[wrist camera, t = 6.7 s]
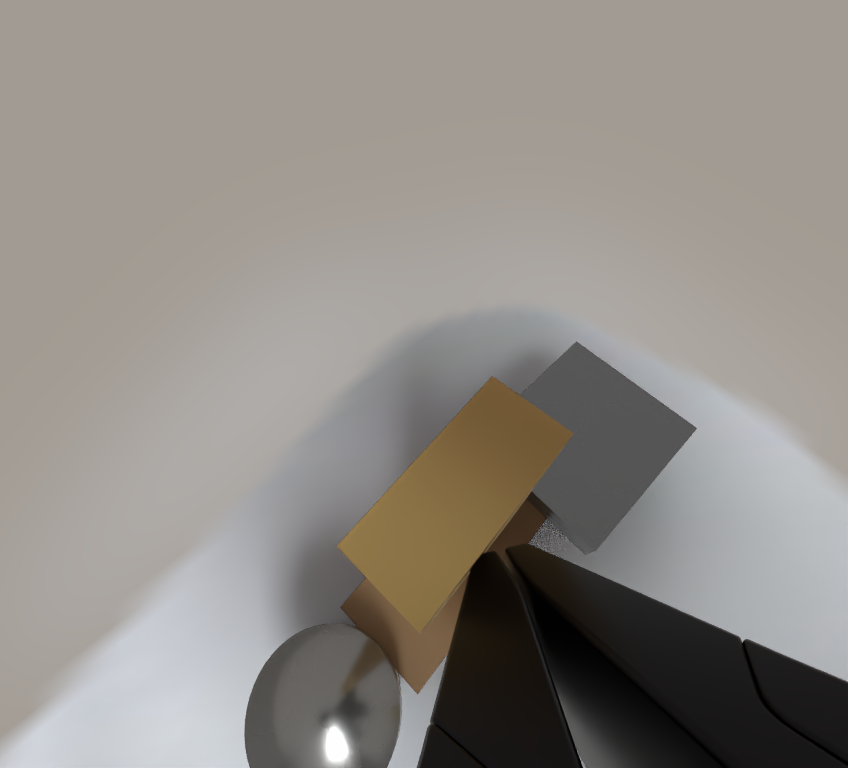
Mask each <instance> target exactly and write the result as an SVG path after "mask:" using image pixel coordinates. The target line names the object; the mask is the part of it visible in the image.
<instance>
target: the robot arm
mask: <svg viewBox="0 0 848 768" xmlns="http://www.w3.org/2000/svg"><path fill="white" fill-rule="evenodd" d="M504 560H505V563H504V561H503V560H502V558H501V557H500V555H499V554H498V553H497V552H496V551H490V552H486V553H483V554H482V555H481V556H480V557H479V559H478V560H477V561H476V562H475V564H474V565H473V566H472V567H471V569H470V572H469V576H468V580H467V584H466V587H465V591H464V595H463V599H462V602H461V606H460V610H459V614H458V618H457V621H456V625H455V629H454V633H453V637H452V640H451V644H450V648H449V652H448V656H447V659H446V663H445V667H444V671H443V675H442V678H441V682H440V686H439V690H438V694H437V697H436V701H435V705H434V709H433V713H432V716H431V721H430V722H431V725H429V726H428V729H427V732H426V736H425V740H424V744H423V747H422V751H421V755H420V759H419V762H418V765H417V768H583V767H582V764H581V761H580V758H579V755H580V757H581V759H582V761H583V763H584V765H585V766H586V768H848V682H847V681H845V680H842V679H840V678H838V677H835V676H833V675H830V674H828V673H826V672H823V671H821V670H818V669H816V668H814V667H811V666H809V665H806V664H804V663H802V662H799V661H797V660H795V659H792V658H790V657H787V656H785V655H783V654H780V653H778V652H776V651H774V650H771V649H769V648H767V647H764V646H762V645H760V644H758V643H755V642H753V641H751V640H748V639H746V640H744V641H743V643H742V640H741V639H740V637H739V636H737V635H734V634H732V633H730V632H728V631H725V630H723V629H721V628H718V627H716V626H714V625H712V624H709V623H707V622H705V621H703V620H700V619H698V618H696V617H693V616H691V615H689V614H687V613H684V612H682V611H680V610H677V609H675V608H673V607H671V606H668V605H666V604H664V603H662V602H659V601H657V600H655V599H652V598H650V597H648V596H646V595H643V594H641V593H639V592H637V591H634V590H632V589H630V588H627V587H625V586H623V585H621V584H618V583H616V582H614V581H612V580H609V579H607V578H605V577H602V576H600V575H598V574H596V573H593V572H591V571H589V570H586V569H584V568H582V567H580V566H577V565H575V564H573V563H571V562H568V561H566V560H564V559H561V558H559V557H557V556H555V555H552V554H550V553H548V552H546V551H543V550H541V549H539V548H536V547H534V546H532V545H530V544H527V543H522V544H518V545H514V546H510V547H507V548H505V549H504ZM577 751H578V752H577ZM578 753H579V755H578Z"/></svg>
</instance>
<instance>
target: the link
mask: <svg viewBox="0 0 848 768" xmlns="http://www.w3.org/2000/svg"><path fill="white" fill-rule="evenodd" d="M573 434H574V433H572V432H571V431H570V430H568V429H567V428H565V427H564V426H562V425H561V424H560V423H558V422H557V421H555V420H554V419H553V418H551V417H550V416H548V415H547V414H545V413H544V412H543V411H541V410H540V409H538V408H537V407H535V406H534V405H533V404H531V403H530V402H528V401H527V400H526V399H524V398H523V397H521V396H520V395H518V394H517V393H516V392H514V391H513V390H511V389H510V388H508V387H507V386H506V385H504V384H503V383H501V382H500V381H498V380H497V379H496V378H494V377H493V376H492V377H491V378H490V379H489V380H488V381H487V382H486V384H485V385H484V386H483V387H482V388H481V389H480V390H479V391H478V392H477V393H476V394H475V396H474V397H473V398H472V399H471V400H470V401H469V402H468V403H467V404H466V405H465V406H464V408H463V409H462V410H461V411H460V412H459V413H458V414H457V415H456V416H455V417H454V418H453V420H452V421H451V422H450V423H449V424H448V425H447V426H446V427H445V428H444V429H443V430H442V432H441V433H440V434H439V435H438V436H437V437H436V438H435V439H434V440H433V441H432V442H431V444H430V445H429V446H428V447H427V448H426V449H425V450H424V451H423V452H422V453H421V454H420V456H419V457H418V458H417V459H416V460H415V461H414V462H413V463H412V464H411V465H410V466H409V468H408V469H407V470H406V471H405V472H404V473H403V474H402V475H401V476H400V477H399V478H398V480H397V481H396V482H395V483H394V484H393V485H392V486H391V487H390V488H389V489H388V490H387V492H386V493H385V494H384V495H383V496H382V497H381V498H380V499H379V500H378V501H377V502H376V504H375V505H374V506H373V507H372V508H371V509H370V510H369V511H368V512H367V513H366V514H365V516H364V517H363V518H362V519H361V520H360V521H359V522H358V523H357V524H356V525H355V526H354V528H353V529H352V530H351V531H350V532H349V533H348V534H347V535H346V536H345V537H344V538H343V540H342V541H341V542H340V543H339V544H338V545H337V547H338V548H339V549H340V550H341V552H342V553H343V554H344V555H345V556H346V557H347V558H348V559H349V560H350V561H351V562H352V563H353V564H354V565H355V566H356V567H357V568H358V569H359V570H360V572H361V573H362V574H363V575H364V576H365V577H366V578H365V579H364V580H363V582H362V583H361V584H360V585H359V586H358V587H357V589H356V590H355V591H354V592H353V593H352V594H351V595H350V597H349V598H348V599H347V600H346V601H345V602H344V604H343V605H342V606H341V607H340V608H341V609H342V610H343V611H344V612H345V613H346V614H347V615H348V617H349V618H350V619H351V620H352V621H353V622H354V623H355V624H356V626H357V627H358V628H359V629H361V630H363V631H365V632H366V633H368V634H369V635H371V636H372V637H373V638H374V639H375V640H377V641H378V642H379V644H380V645H381V646H382V647H383V648H384V650H385V651H386V653H387V654H388V656H389V657H390V659H391V661H392V663H393V665H394V668H395V669H396V670H397V672H398V673H399V674H400V675H401V676H402V677H403V678H404V679H405V681H406V682H407V683H408V684H409V685H410V686H411V687H412V688H413V690H414V691H415V692H416V693H417V694H418V693H419V692H420V690H421V689H422V688H423V686H424V685H425V683H426V682H427V681H428V679H429V678H430V677H431V675H432V674H433V673H434V671H435V670H436V668H437V667H438V666H439V664H440V663H441V662H442V660H443V659H444V658H445V656H446V655H447V653H448V652H449V648H450V644H451V640H452V637H453V633H454V629H455V625H456V621H457V618H458V614H459V610H460V606H461V602H462V599H463V595H464V591H465V587H466V584H467V580H468V576H469V572H470V569H471V567H472V566H473V565H474V564H475V562H476V561H477V560H478V559H479V557H480V556H481V555H482V554H483V553H486V552H490V551H496V552H497V553H498V554H499V555H500V557H501V558H502V560H503V561H504V563H505V560H504V549H505V548H507V547H510V546H514V545H518V544H522V543H527V544H528V543H529V542H530V540H531V539H532V538H533V536H534V535H535V534H536V532H537V531H538V529H539V528H540V527H541V525H542V524H543V523H544V521H545V520H546V519H547V518H546V517H545V516H544V515H543V514H542V513H541V512H540V511H539V510H537V509H536V508H535V507H534V506H533V505H532V504H531V503H530V502H529V501H528V500H527V499H526V498H527V497H528V495H529V494H530V493H531V491H532V490H533V488H534V487H535V486H536V484H537V483H538V482H539V480H540V479H541V478H542V476H543V475H544V474H545V472H546V471H547V469H548V468H549V467H550V465H551V464H552V463H553V461H554V460H555V459H556V457H557V456H558V454H559V453H560V452H561V450H562V449H563V448H564V446H565V445H566V444H567V442H568V441H569V440H570V438H571V437H572V435H573Z"/></svg>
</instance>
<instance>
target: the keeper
mask: <svg viewBox="0 0 848 768" xmlns="http://www.w3.org/2000/svg"><path fill="white" fill-rule="evenodd" d="M520 396H521V397H523V398H524V399H526V400H527V401H528V402H530V403H531V404H533V405H534V406H535V407H537V408H538V409H540V410H541V411H543V412H544V413H545V414H547V415H548V416H550V417H551V418H553V419H554V420H555V421H557V422H558V423H560V424H561V425H562V426H564V427H565V428H567V429H568V430H570V431H571V432H572V433H574V434H573V435H572V437H571V438H570V440H569V441H568V442H567V444H566V445H565V446H564V448H563V449H562V450H561V452H560V453H559V454H558V456H557V457H556V459H555V460H554V461H553V463H552V464H551V465H550V467H549V468H548V469H547V471H546V472H545V474H544V475H543V476H542V478H541V479H540V480H539V482H538V483H537V484H536V486H535V487H534V488H533V490H532V491H531V493H530V494H529V495H528V497H527V498H526V499H527V500H528V501H529V502H530V503H531V504H532V505H533V506H534V507H535V508H536V509H537V510H539V511H540V512H541V513H542V514H543V515H544V516H545V517H546V518H547V519H548V520H549V521H550V522H551V523H552V524H553V525H554V526H555V527H556V528H558V529H559V530H560V531H561V532H562V533H563V534H564V535H565V536H566V537H567V538H568V539H569V540H570V541H571V542H572V543H573V544H574V545H576V546H577V547H578V548H579V549H580V550H581V551H582V552H583V553H584V554H588V553H591V552H593V551H596V549H597V548H598V547H599V546H600V545H601V543H602V542H603V541H604V540H605V539H606V537H607V536H608V535H609V534H610V533H611V531H612V530H613V529H614V528H615V527H616V525H617V524H618V523H619V522H620V521H621V519H622V518H623V517H624V516H625V515H626V513H627V512H628V511H629V510H630V509H631V507H632V506H633V505H634V504H635V502H636V501H637V500H638V499H639V498H640V496H641V495H642V494H643V493H644V492H645V490H646V489H647V488H648V487H649V486H650V484H651V483H652V482H653V481H654V480H655V478H656V477H657V476H658V475H659V474H660V472H661V471H662V470H663V469H664V468H665V466H666V465H667V464H668V463H669V461H670V460H671V459H672V458H673V457H674V455H675V454H676V453H677V452H678V451H679V449H680V448H681V447H682V446H683V445H684V443H685V442H686V441H687V440H688V439H689V437H690V436H691V435H692V434H693V433H694V431H695V430H696V429H697V428H696V427H694V426H693V425H692V424H690V423H689V422H687V421H686V420H685V419H683V418H682V417H681V416H679V415H678V414H676V413H675V412H674V411H672V410H671V409H669V408H668V407H667V406H665V405H664V404H662V403H661V402H660V401H658V400H657V399H656V398H654V397H653V396H651V395H650V394H649V393H647V392H646V391H644V390H643V389H642V388H640V387H639V386H637V385H636V384H635V383H633V382H632V381H630V380H629V379H628V378H626V377H625V376H624V375H622V374H621V373H619V372H618V371H617V370H615V369H614V368H612V367H611V366H610V365H608V364H607V363H605V362H604V361H603V360H601V359H600V358H599V357H597V356H596V355H594V354H593V353H592V352H590V351H589V350H587V349H586V348H585V347H583V346H582V345H580V344H579V343H578V342H576V343H575V344H574V345H572V346H571V347H570V348H569V349H568V350H567V351H566V352H565V353H564V354H563V355H562V356H561V357H560V358H559V359H558V360H557V361H556V362H555V363H553V364H552V365H551V366H550V367H549V368H548V369H547V370H546V371H545V372H544V373H543V374H542V375H541V376H540V377H539V378H538V379H537V380H536V381H535V382H533V383H532V384H531V385H530V386H529V387H528V388H527V389H526V390H525V391H524V392H523V393H522V394H521V395H520Z"/></svg>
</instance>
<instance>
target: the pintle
mask: <svg viewBox="0 0 848 768" xmlns="http://www.w3.org/2000/svg"><path fill="white" fill-rule="evenodd" d="M401 716H402V698H401V689H400V682H399V675H398V672H397V670H396V669H395V668H394V665H393V663H392V661H391V659H390V657H389V656H388V654H387V653H386V651H385V650H384V648H383V647H382V646H381V645H380V644H379V642H378V641H377V640H375V639H374V638H373V637H372V636H371V635H369V634H368V633H366V632H365V631H363V630H361V629H359V628H357V627H354V626H351V625H347V624H339V623H333V624H324V625H318V626H314V627H311V628H308V629H305V630H303V631H301V632H299V633H297V634H295V635H294V636H292V637H291V638H289V639H288V640H286V641H285V642H284V643H283V644H282V645H281V646H280V647H279V648H278V649H277V650H276V651H275V652H274V653H273V654H272V655H271V657H270V658H269V659H268V661H267V662H266V663H265V665H264V667H263V668H262V670H261V672H260V673H259V675H258V677H257V680H256V682H255V684H254V686H253V689H252V692H251V695H250V698H249V702H248V706H247V711H246V719H245V748H246V754H247V759H248V763H249V766H250V768H387V766H388V764H389V761H390V759H391V757H392V754H393V752H394V749H395V746H396V742H397V739H398V735H399V731H400V726H401Z"/></svg>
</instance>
